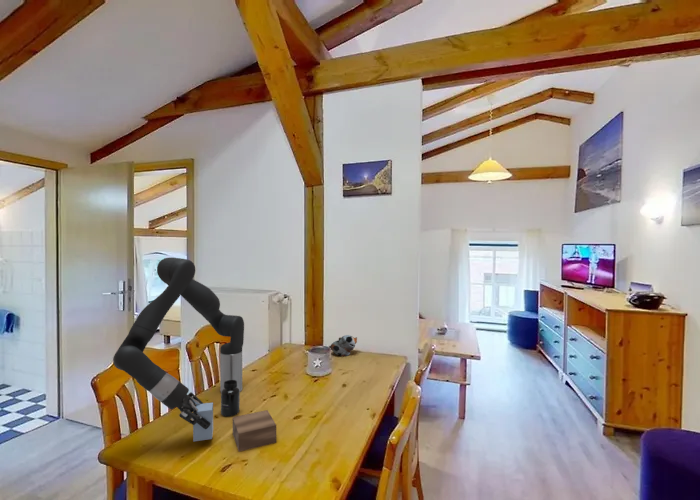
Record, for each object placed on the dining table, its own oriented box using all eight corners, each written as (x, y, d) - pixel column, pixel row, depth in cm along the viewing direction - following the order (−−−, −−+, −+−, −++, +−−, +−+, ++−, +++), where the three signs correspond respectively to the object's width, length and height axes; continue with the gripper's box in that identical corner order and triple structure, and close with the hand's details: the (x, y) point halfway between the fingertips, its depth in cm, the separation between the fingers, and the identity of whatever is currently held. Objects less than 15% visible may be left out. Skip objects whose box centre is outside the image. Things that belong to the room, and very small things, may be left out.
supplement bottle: (220, 418, 135) (220, 386, 135) (221, 410, 142) (221, 379, 142) (239, 415, 137) (239, 384, 137) (239, 407, 144) (239, 377, 144)
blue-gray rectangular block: (195, 432, 121) (195, 404, 121) (213, 429, 123) (213, 402, 123) (193, 441, 116) (193, 412, 116) (212, 438, 118) (211, 409, 117)
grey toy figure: (340, 348, 224) (351, 329, 223) (353, 360, 216) (364, 340, 215) (324, 346, 213) (336, 326, 212) (336, 359, 205) (348, 338, 204)
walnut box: (232, 434, 125) (232, 417, 124) (267, 426, 130) (267, 410, 130) (238, 452, 114) (238, 433, 114) (276, 443, 119) (276, 425, 119)
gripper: (174, 390, 110) (216, 423, 114) (181, 373, 123) (219, 403, 127) (154, 410, 108) (198, 443, 112) (164, 390, 122) (202, 420, 126)
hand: (209, 421), depth 120 cm, fingers closed on blue-gray rectangular block, 5 cm apart
